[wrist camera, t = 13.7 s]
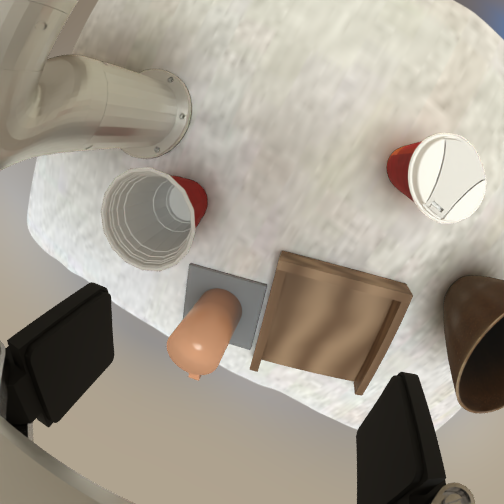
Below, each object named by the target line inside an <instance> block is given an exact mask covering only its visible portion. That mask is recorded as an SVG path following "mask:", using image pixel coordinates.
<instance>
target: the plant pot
mask: <svg viewBox="0 0 504 504" xmlns="http://www.w3.org/2000/svg"><path fill="white" fill-rule="evenodd" d="M444 331H445V340H446V347H447V354H448V360H449V365H450V370H451V375H452V379H453V383H454V388H455V392H456V396H457V400H458V402H459V404H460V405H461V406H462V407H463V408H464V409H465V410H467V411H469V412H473V413H488V412H492V411H496V410H499V409H501V408H503V407H504V281H503V280H500V279H496V278H491V277H484V276H473V275H469V276H464V277H462V278H460V279H458V280H457V281H456V282H454V283H453V284H452V286H451V287H450V288H449V290H448V291H447V293H446V296H445V299H444Z"/></svg>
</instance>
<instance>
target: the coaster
mask: <svg viewBox="0 0 504 504" xmlns="http://www.w3.org/2000/svg"><path fill="white" fill-rule="evenodd" d="M266 287H267V284H263V283H259V282H256V281H252V280H249V279H245V278H241V277H238V276H234V275H231V274H227V273H224V272H220V271H216V270H213V269H209V268H206V267H203V266H199V265H196V264H192V263H191V264H189V271H188V279H187V287H186V295H185V304H184V313H183V319H184V318H185V316H186V315H187V314H188V313H189V311H190V310H191V309H192V307H193V306H194V305H195V304H196V302H197V301H198V300H199V299H200V297H201V296H202V295H203V294H204V293H205V292H206V291H208V290H210V289H215V288H219V289H224V290H227V291H229V292H231V293H232V294H233V295H235V296H236V298H237V299H238V300H239V302H240V304H241V307H242V316H241V319H240V321H239V323H238V325H237V327H236V329H235V331H234V333H233V335H232V338H231V340H230V342H229V344H232V345H235V346H238V347H242V348H245V349H249V350H250V349H251V346H252V342H253V338H254V334H255V330H256V327H257V323H258V319H259V315H260V311H261V307H262V303H263V299H264V295H265V291H266Z"/></svg>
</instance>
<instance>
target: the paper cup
mask: <svg viewBox="0 0 504 504" xmlns="http://www.w3.org/2000/svg"><path fill="white" fill-rule="evenodd" d="M387 173H388V177H389V179H390V181H391V183H392V184H393V185H394V186H395V187H396V188H397V189H398V190H400V191H401V192H402V193H403V194H405V195H406V196H407V197H408V198H410V199H411V200H412V201H414V202H415V204H416V205H417V207H418V208H419V209H420V211H421V212H422V213H423V214H424V215H426V216H427V217H428V218H430V219H432V220H434V221H436V222H439V223H445V224H450V223H456V222H459V221H461V220H464V219H466V218H468V217H469V216H470V215H472V214H473V213H474V212H475V211H476V210H477V209H478V207H479V206H480V204H481V202H482V200H483V197H484V195H485V190H486V176H485V171H484V167H483V164H482V162H481V159H480V157H479V154H478V152H477V151H476V149H475V148H474V147H473V145H472V144H471V143H470V142H469V141H468V140H466V139H465V138H464V137H462V136H460V135H456V134H449V133H439V134H434V135H432V136H429V137H428V138H426V139H425V140H423V141H421V142H417V143H414V144H410V145H407V146H403V147H401V148H398V149H397V150H395V151H394V152H393V153H392V154H391V156H390V157H389V159H388V163H387Z"/></svg>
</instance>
